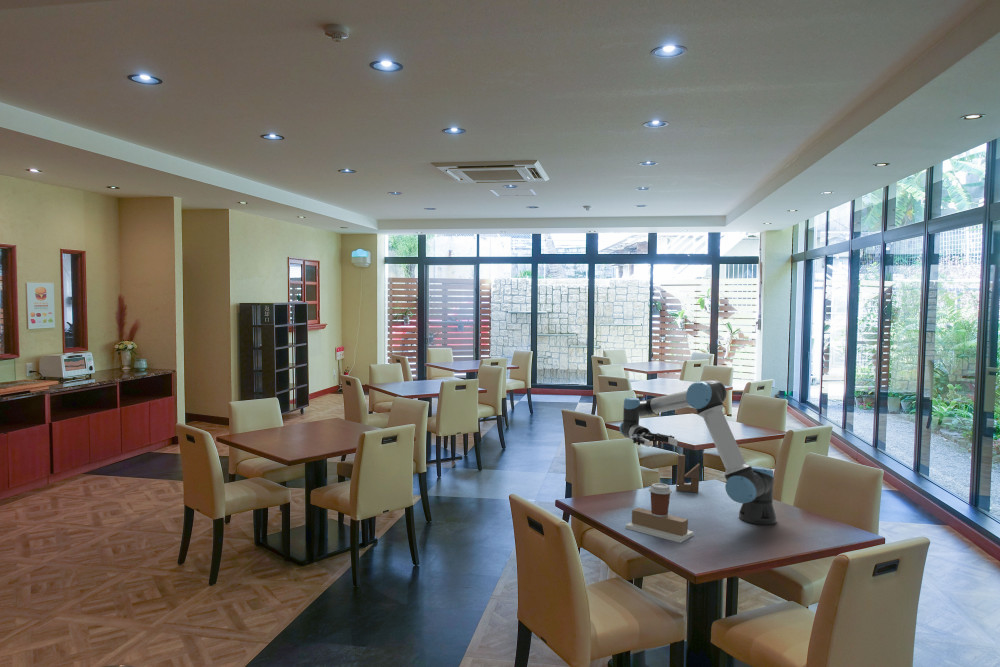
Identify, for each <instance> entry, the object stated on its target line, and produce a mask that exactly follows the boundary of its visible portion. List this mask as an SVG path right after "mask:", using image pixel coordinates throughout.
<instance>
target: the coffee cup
mask: <svg viewBox="0 0 1000 667" xmlns="http://www.w3.org/2000/svg"><path fill="white" fill-rule="evenodd" d="M648 491H649V492H650V511H651V514H652V515H653V516H657V517H666V516H668V515H669V507H670V498H671V494H672V493H673V490H672V489H671V488H670V485H669V484H666V483H661V482H655V483H652V484H651V486H650V487H649V488H648Z"/></svg>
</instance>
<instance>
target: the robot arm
mask: <svg viewBox="0 0 1000 667" xmlns="http://www.w3.org/2000/svg"><path fill="white" fill-rule="evenodd" d="M726 398H727V388H726V387H725V385H724V383H722V382H720V381H719V380H716V379H708V380H699V381H695V382H693V383H691V384H690V385H689V386H688V388H687V390H683V391H679V392H675V393H672V394H665V395H663V396H657V397H654V398H649V399H648V398H647V399H644V400H641V399H639V398H638V397H626V398H624V399H623V400H624V402H623V413H622V414H623V417H622V418H623V420H622V422H621V424H620V425H619V432H620V434H621V435H622V436H624V437H625V438H627V439H630V440H633V441H632V443H633V444H637V446H641V445H643V446H644V447H647V448H649V447H650V443H651V442H664V443H668V444H670V445H672V446H675V447H678V439H676V438H675V436H674V435H671V434H670V435H668V434H667V435H666V434H662V433H658V432H657V433H653V432H651V431H650V430H649V428H647V427H644V426H642V425H640V418H641V417H646V416H652V415H655V414H660V413H664V412H670V411H675V410H678V409H685V408H688V407H689V408H690V407H691V408H693V409H695V411H696V414H697V416H699V417H701V418H702V419H703V421H704V423H705V424H706V427H707V430H708V432H709V434H710V437H711V439H712V441H713V443H714V446H715V448H716V450H717V453H718V455H719V457H720V460H721V462H722V464H723V466H724V468H725V472H724V474H723V476H724V477H725V480H726V482H725V486H724V488H725V492H726V494H727V495H728V497H729V498H730V499H731V500H732V501H734V502H736V503H738V504H741V507H740V509H739V512H738V518H739V519H740V520H741V521H743V522H746V523H748V524H749V523H750V524H755V525H760V526H761V525H764V526H769V525H774V524H776V523H777V515H776V510H775V508H774V505H773V504H774V503H773V502H774V501H773V500H774V499H773V498H774V482H775V480H774V479H775V475H774V474H775V473H774V470H773V469H771V468H769V467H763V466H758V465H757V466H756V465H750V464H748V463H746V461H745V459H744V457H743V455H742V451H741V450H740V448H739V446H738V443H737V441H736V438H735V436H734V434H733V432H732V430H731V428H730V425H729V423H728V421H727V418H726V416H725V414H724V412H723V408H724V403H723V402H725V400H726Z"/></svg>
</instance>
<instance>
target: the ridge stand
mask: <svg viewBox="0 0 1000 667" xmlns="http://www.w3.org/2000/svg"><path fill="white" fill-rule="evenodd" d="M631 512H632V513H631V522H627V523H626V524H625V526H624V527H625V528H624V529H627V530H630V531H634V532H638V533H643V534H645V535H650V536H652V537H656V538H661V539H665V540H668V541H671V542H677V543H679V544H680V543H682V542H685V541H686V540H688V539H689V538H691V537H693V536H694V531H692V530H689V529H688V527H689V524H688V523H689V519H688V518H683V517H680V516H675V515H672V514H668V516H666V517H657V516H653V515H652V514H651V509H646V508H641V507H636V508H633V509H632V510H631Z"/></svg>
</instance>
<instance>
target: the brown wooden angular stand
mask: <svg viewBox="0 0 1000 667" xmlns="http://www.w3.org/2000/svg"><path fill="white" fill-rule="evenodd" d="M676 464H677V467H676V468H677V469H676V483H675V489H676V491H678V492H688V493H695V494H696V493H699V490H700V489H699V487H700V486H699V485H700V463H697V464H695V466H694V467H692V469H690V470H689V471H688V472H686V473H685V468H686V455H685V454H678V455H677V463H676ZM685 478H688V479H690V483H687V482H685ZM677 485H679V486H677Z"/></svg>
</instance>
